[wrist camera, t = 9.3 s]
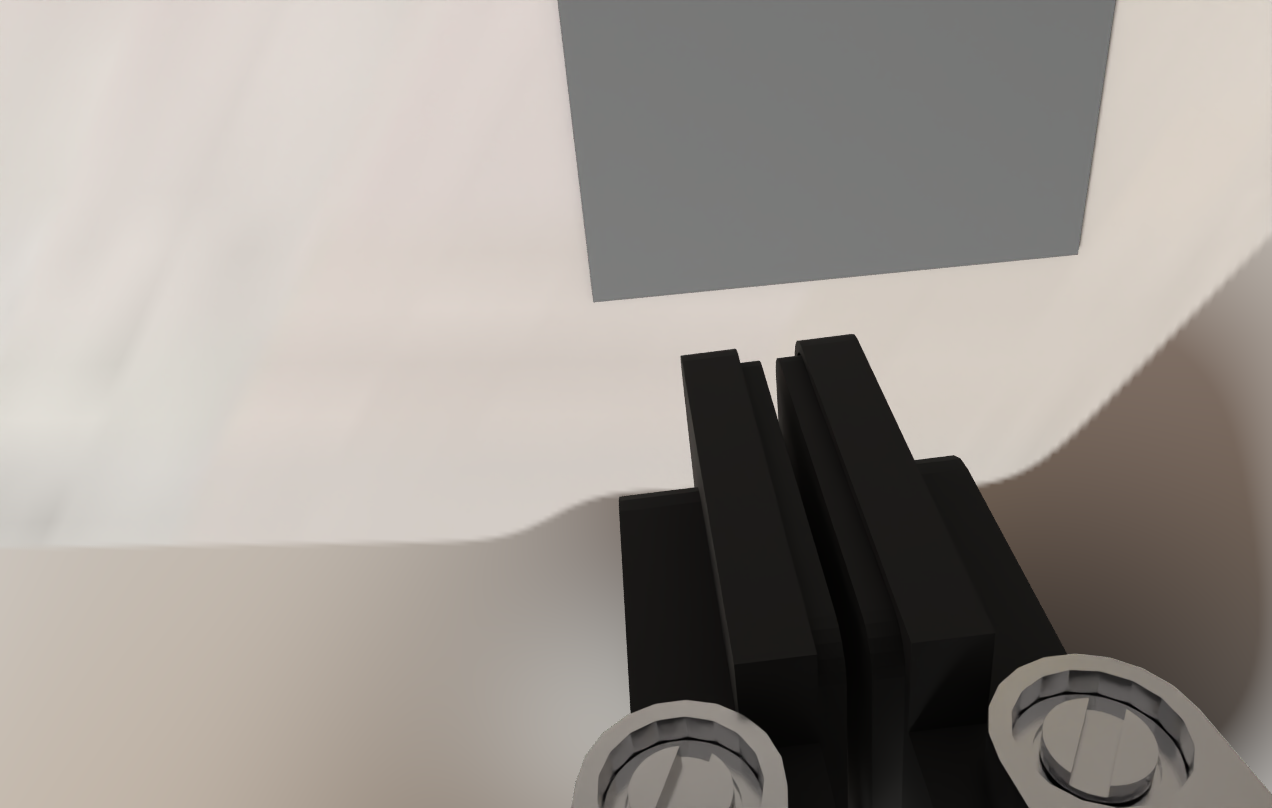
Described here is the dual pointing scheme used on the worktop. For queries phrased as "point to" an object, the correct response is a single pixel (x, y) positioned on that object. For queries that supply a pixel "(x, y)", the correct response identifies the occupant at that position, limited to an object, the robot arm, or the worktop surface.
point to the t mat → (828, 136)
